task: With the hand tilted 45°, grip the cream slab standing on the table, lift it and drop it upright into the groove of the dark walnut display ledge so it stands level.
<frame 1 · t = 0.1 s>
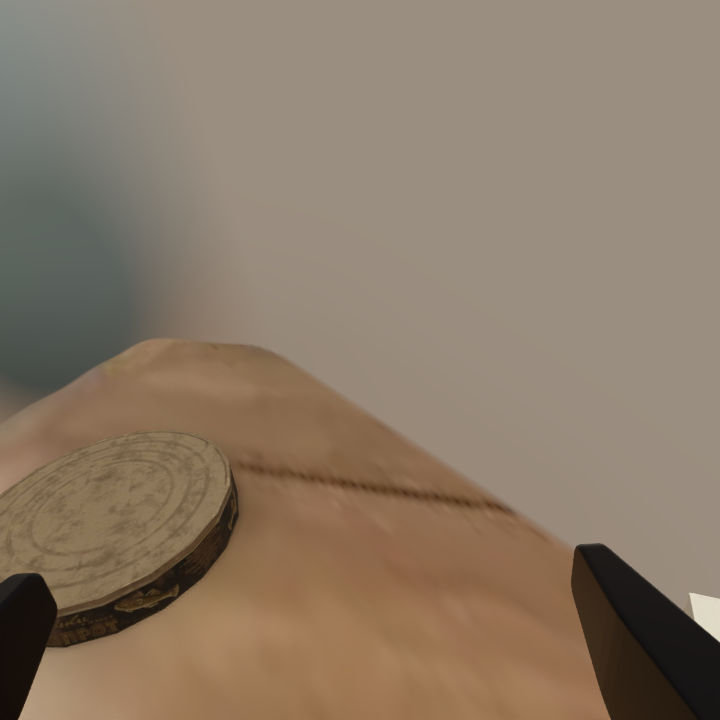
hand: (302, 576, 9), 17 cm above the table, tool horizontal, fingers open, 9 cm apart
brown round disc: (119, 539, 34), on the table
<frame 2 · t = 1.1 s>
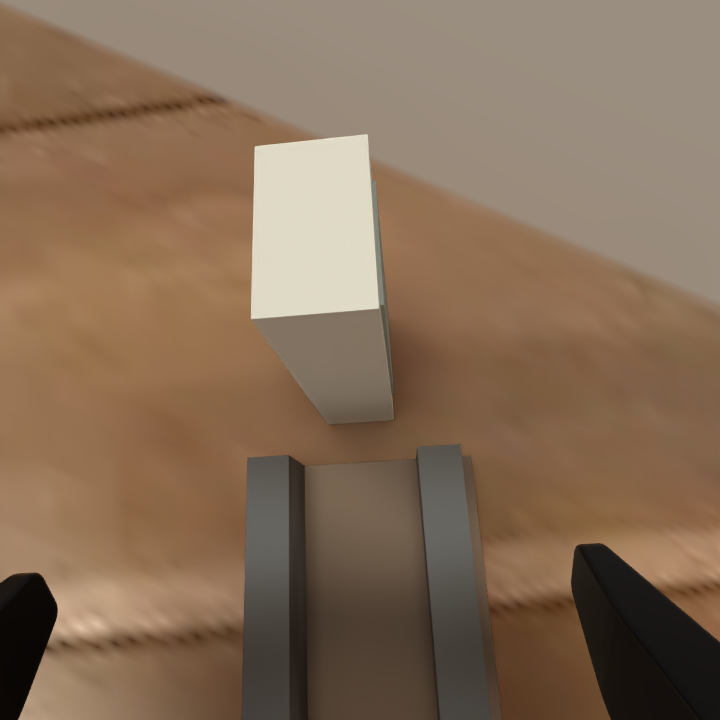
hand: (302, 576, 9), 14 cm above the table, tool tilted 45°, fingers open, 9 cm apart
cream slab: (358, 369, 24), on the table
display ledge: (371, 633, 20), on the table
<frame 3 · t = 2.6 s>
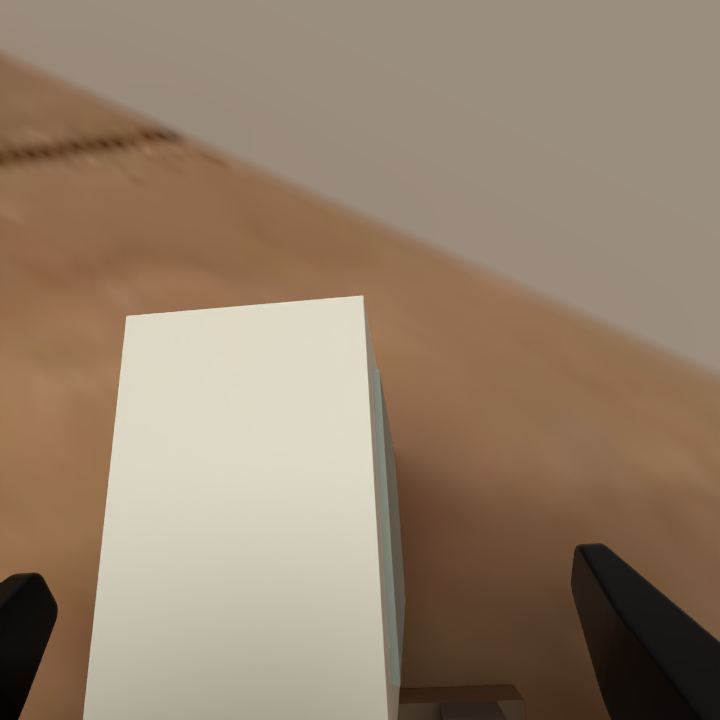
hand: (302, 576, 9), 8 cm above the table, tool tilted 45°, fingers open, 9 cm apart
cream slab: (352, 531, 17), on the table
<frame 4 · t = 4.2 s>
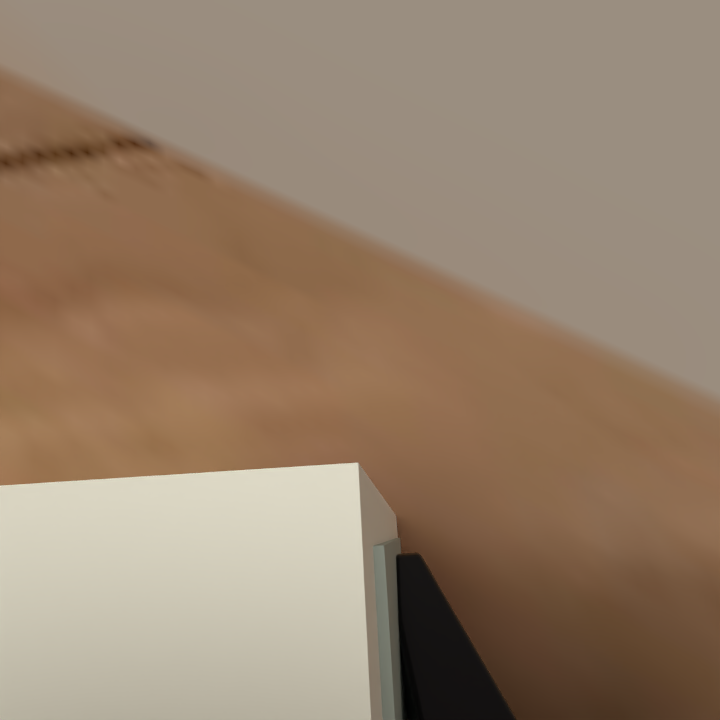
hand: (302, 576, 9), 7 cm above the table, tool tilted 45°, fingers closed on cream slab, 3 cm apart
cream slab: (349, 612, 14), on the table, touching gripper
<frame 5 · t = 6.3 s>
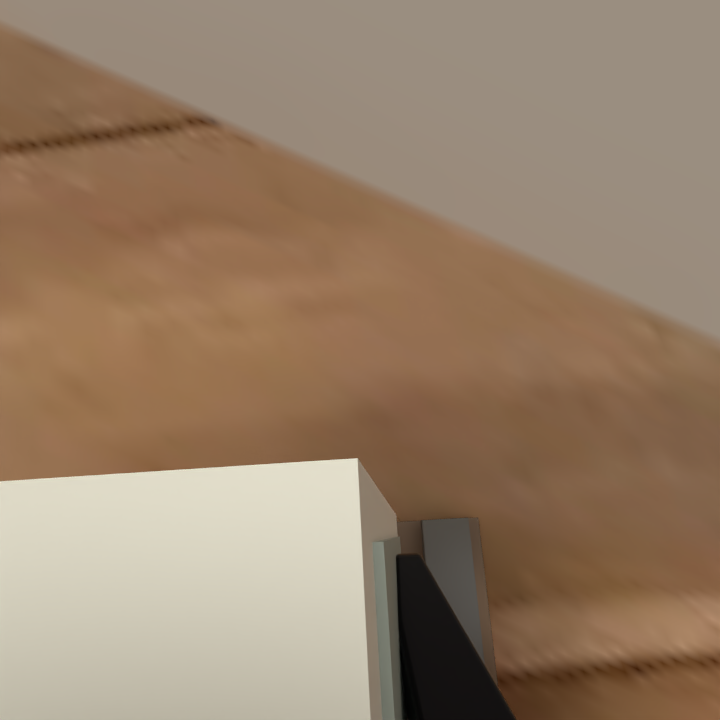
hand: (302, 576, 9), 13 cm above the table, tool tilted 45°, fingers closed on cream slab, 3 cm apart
cream slab: (349, 611, 14), point 7 cm above the table, touching gripper
display ledge: (373, 705, 19), on the table
when the fingers open (9 cm above the table, at t = 8.4 s): cream slab drops 1 cm, resting on display ledge.
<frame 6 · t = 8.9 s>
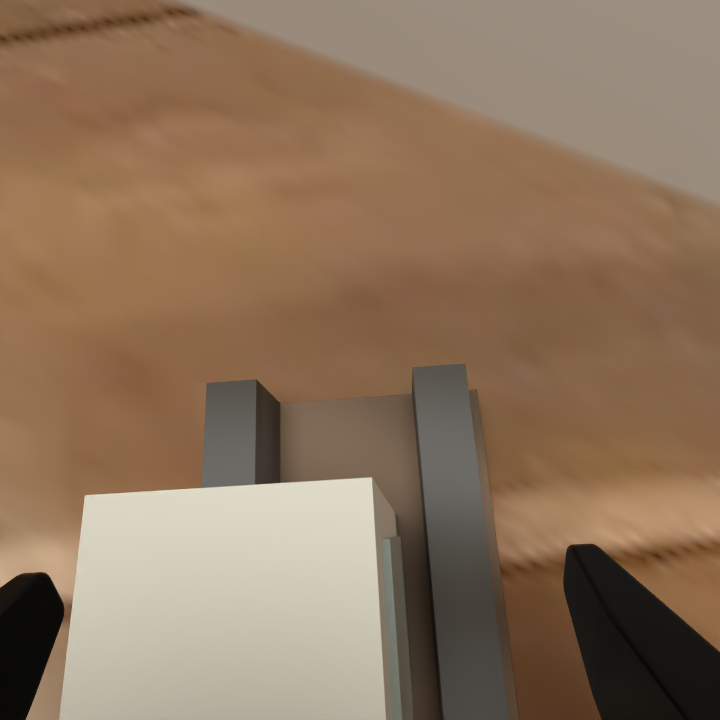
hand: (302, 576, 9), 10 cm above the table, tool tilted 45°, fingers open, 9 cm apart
cream slab: (354, 603, 16), point 1 cm above the table, touching display ledge
display ledge: (359, 599, 17), on the table
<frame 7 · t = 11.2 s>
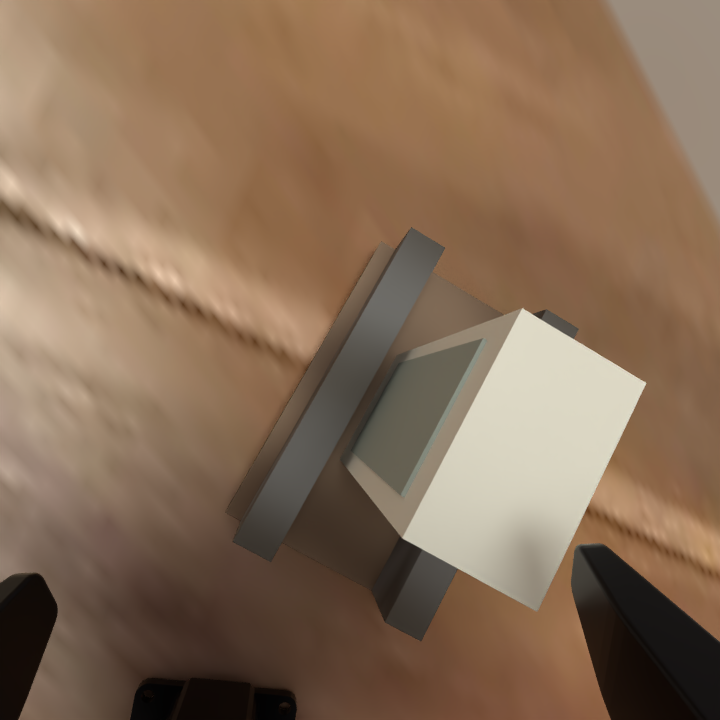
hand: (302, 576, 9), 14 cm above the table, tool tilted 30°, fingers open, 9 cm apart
cream slab: (399, 423, 22), point 1 cm above the table, touching display ledge
display ledge: (391, 422, 23), on the table
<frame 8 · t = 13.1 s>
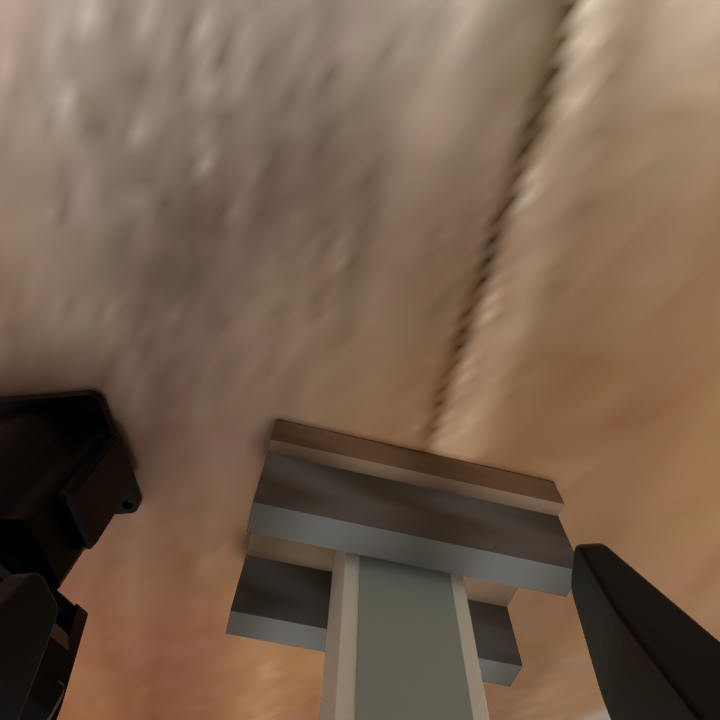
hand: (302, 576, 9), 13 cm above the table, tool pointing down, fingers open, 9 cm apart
cream slab: (393, 547, 24), point 1 cm above the table, touching display ledge
display ledge: (391, 524, 25), on the table
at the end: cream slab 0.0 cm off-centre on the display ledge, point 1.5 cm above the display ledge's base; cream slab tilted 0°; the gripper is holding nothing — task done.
